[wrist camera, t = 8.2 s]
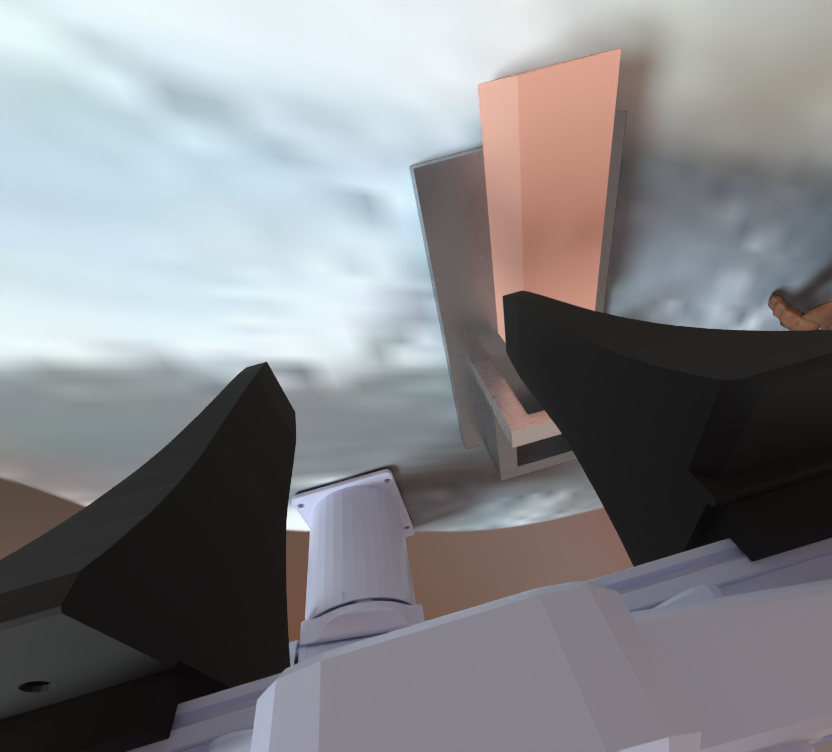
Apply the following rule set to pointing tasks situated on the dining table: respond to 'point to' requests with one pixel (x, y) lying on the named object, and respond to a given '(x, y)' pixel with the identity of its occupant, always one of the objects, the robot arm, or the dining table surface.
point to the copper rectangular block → (549, 176)
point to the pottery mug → (801, 315)
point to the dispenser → (489, 311)
